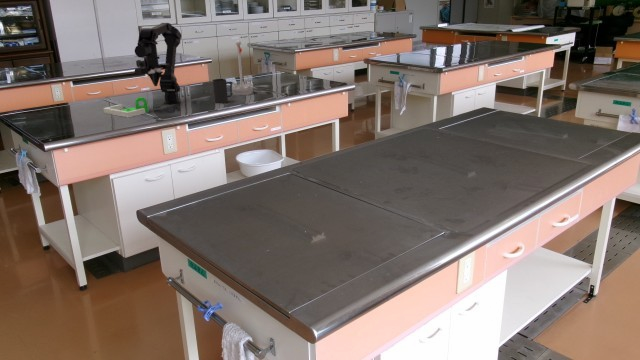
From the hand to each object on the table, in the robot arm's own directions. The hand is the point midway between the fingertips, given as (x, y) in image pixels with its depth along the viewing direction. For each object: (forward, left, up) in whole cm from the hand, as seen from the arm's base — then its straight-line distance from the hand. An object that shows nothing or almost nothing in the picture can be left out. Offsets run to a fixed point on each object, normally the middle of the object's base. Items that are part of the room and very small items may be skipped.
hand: (155, 86), depth 265 cm
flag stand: (-51, +11, -12) cm, 54 cm away
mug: (-29, +18, -12) cm, 36 cm away
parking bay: (+14, -9, -12) cm, 21 cm away
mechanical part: (+10, -5, -12) cm, 17 cm away
